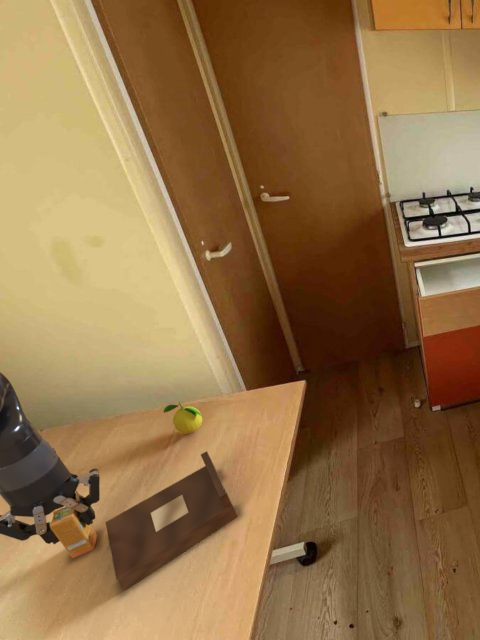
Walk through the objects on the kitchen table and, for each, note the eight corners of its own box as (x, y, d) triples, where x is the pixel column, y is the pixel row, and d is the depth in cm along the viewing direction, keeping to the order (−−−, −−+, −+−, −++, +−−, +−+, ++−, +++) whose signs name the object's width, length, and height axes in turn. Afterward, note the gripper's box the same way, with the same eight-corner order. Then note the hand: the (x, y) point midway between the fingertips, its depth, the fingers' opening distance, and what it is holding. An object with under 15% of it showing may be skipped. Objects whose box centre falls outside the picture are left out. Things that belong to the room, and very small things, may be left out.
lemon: (173, 432, 105) (158, 403, 100) (200, 417, 109) (186, 388, 105) (183, 446, 101) (168, 416, 97) (210, 430, 105) (197, 401, 101)
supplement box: (96, 548, 81) (72, 516, 76) (72, 559, 79) (45, 527, 74) (99, 533, 83) (75, 501, 79) (76, 543, 81) (50, 512, 77)
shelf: (125, 590, 74) (106, 566, 71) (114, 534, 83) (97, 510, 80) (237, 516, 86) (226, 493, 83) (217, 473, 95) (206, 450, 91)
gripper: (-41, 515, 64) (19, 576, 72) (85, 456, 73) (125, 516, 81) (-37, 483, 69) (19, 544, 77) (81, 431, 78) (120, 490, 86)
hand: (73, 529), depth 79 cm, fingers closed on supplement box, 4 cm apart
